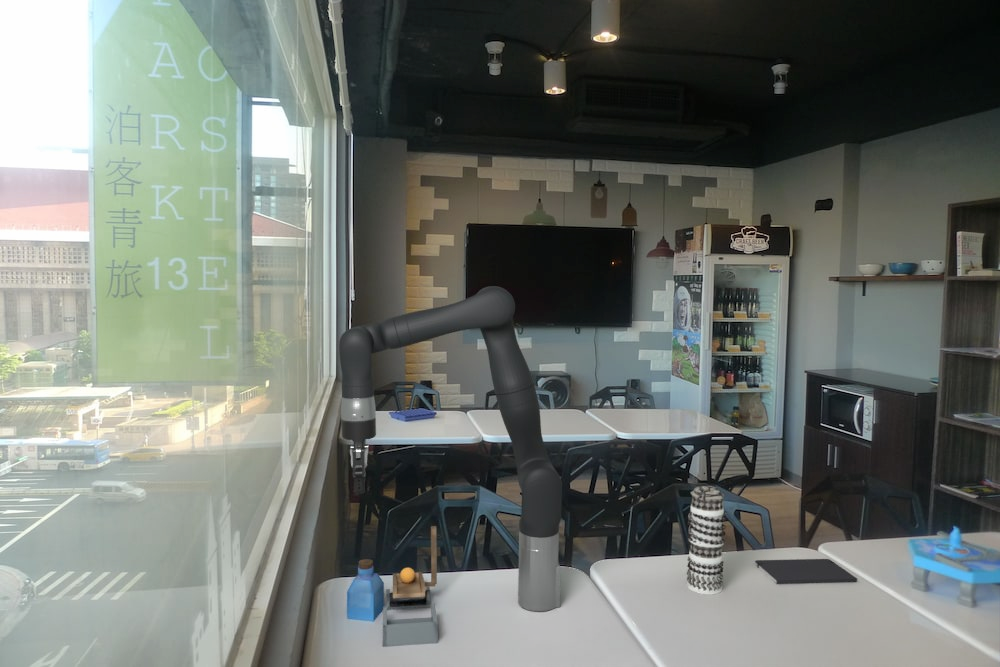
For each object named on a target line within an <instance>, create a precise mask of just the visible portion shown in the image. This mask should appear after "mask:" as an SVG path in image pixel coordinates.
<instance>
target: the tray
mask: <svg viewBox="0 0 1000 667" xmlns="http://www.w3.org/2000/svg"><path fill="white" fill-rule="evenodd" d="M436 608H437V607H436V603H430V609H431V610H430V617H415V618H414V617H413V618H398V619H388V610H387V606H386V605H385V606H384V607H383V611H382V647H383V648H384V647H396V646H397V647H399V646H410V645H411V646H412V645H414V646H415V645H426V644H438V640H439V639H438V636H439V635H438V634H439V633H438V628H439V627H438V625H439V624H438V615H437V610H436Z"/></svg>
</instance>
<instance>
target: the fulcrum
mask: <svg viewBox="0 0 1000 667" xmlns="http://www.w3.org/2000/svg"><path fill="white" fill-rule="evenodd" d="M385 591H386V592H385V593H386V594H385V597H386V598H385V603H386V604H385V607H386V606H387V611H392V610H391V609H393V611H394V609H396V610H411V609H426V608H431V589H430V587H425V597H408V598H393V591H392V592H391V589H390V588H389V589H388V588H387V589H386V590H385Z"/></svg>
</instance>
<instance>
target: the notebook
mask: <svg viewBox="0 0 1000 667" xmlns="http://www.w3.org/2000/svg"><path fill="white" fill-rule="evenodd" d="M754 563H755V566H756V567H757V569H759V570H760V571H762V572H763V573H764V574H765V575H766V576H767V577H769V578H770V579H771V580H772V581H773V582H774V583H776V585H798V584H799V585H800V584H801V585H802V584H805V585H806V584H834V583H835V584H836V583H838V584H840V583H857V582H858V579H857V577H856V576H854V575H853V574H851V573H850V572H849V571H847V570H846V569H844V568H842V567H841V565H839V564H838V563H836V562H835V561H833V560H832V559H829V558H811V559H810V558H807V559H805V558H804V559H802V558H801V559H799V558H798V559H760V560H759V559H757V560H755V561H754Z"/></svg>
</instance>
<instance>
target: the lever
mask: <svg viewBox="0 0 1000 667" xmlns="http://www.w3.org/2000/svg"><path fill="white" fill-rule="evenodd" d="M437 551H438V550H437V526H436V525H432V526H430V561H431V562H430V571H431V572H430V575H431V576H430V577H431V578H430V580H431V581H425V579H424V575H423V573H422V572H421V571H419V572H418V571H417V572H415V578H414V580H413V581H412V582H411V583H404V582H402V580H401V579H400V573H401V572H400V573H398V572H397V573H392V592H393V598H408V597H425V591H426V587H436V585H438V580H437V579H438V577H437V576H438V571H437V570H438V569H437V568H438V567H437V560H438V558H437V556H438V555H437Z"/></svg>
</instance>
